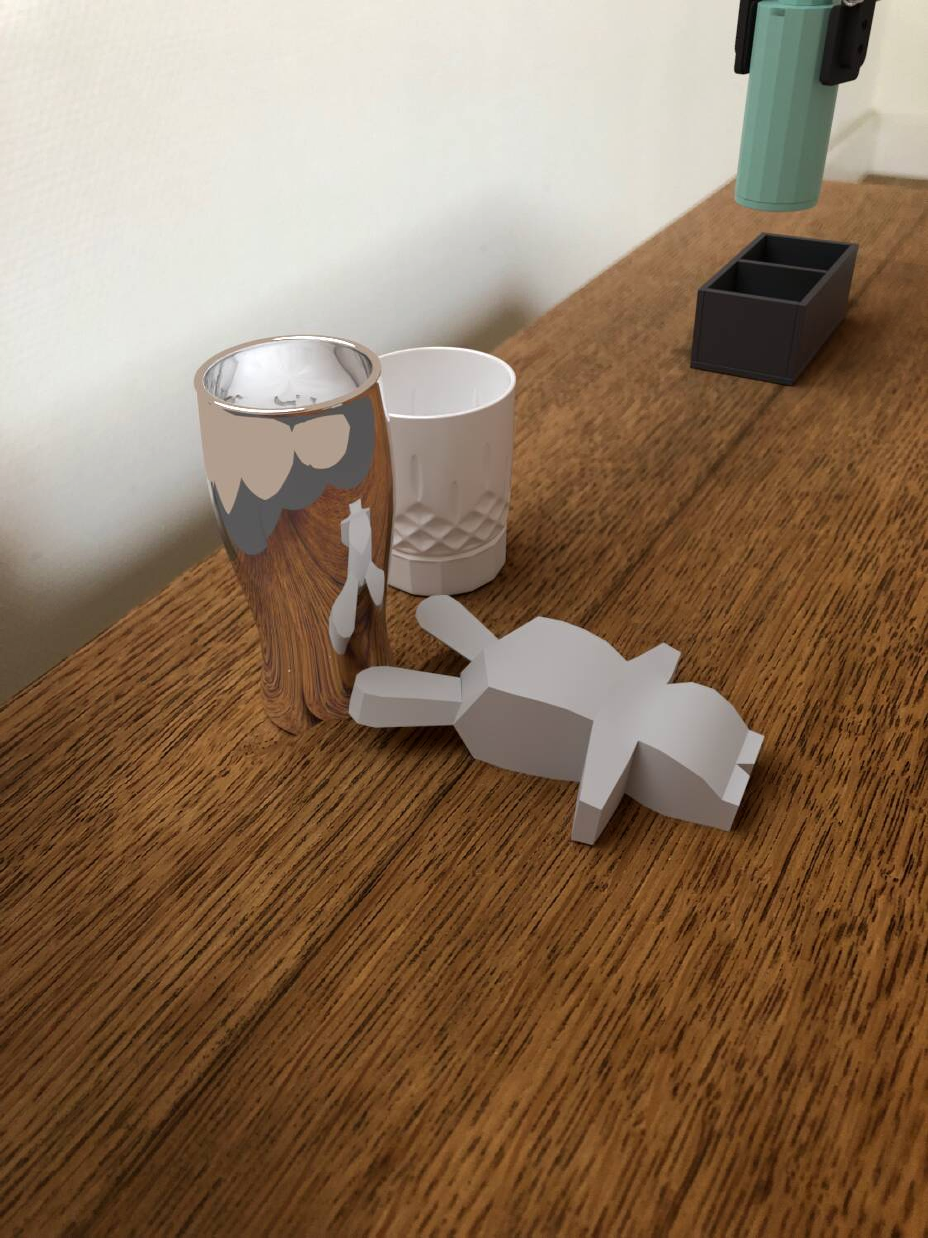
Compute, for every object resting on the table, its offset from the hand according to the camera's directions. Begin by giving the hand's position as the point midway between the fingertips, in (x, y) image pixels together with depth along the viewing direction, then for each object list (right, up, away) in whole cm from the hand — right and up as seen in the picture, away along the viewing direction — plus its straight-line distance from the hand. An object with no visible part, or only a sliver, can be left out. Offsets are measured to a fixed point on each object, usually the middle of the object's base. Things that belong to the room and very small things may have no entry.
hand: (794, 72), depth 61 cm
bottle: (0, -6, +4) cm, 7 cm away
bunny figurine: (-16, -39, -20) cm, 46 cm away
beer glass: (-26, -36, -16) cm, 47 cm away
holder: (+2, -13, +13) cm, 18 cm away
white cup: (-21, -30, -8) cm, 38 cm away
